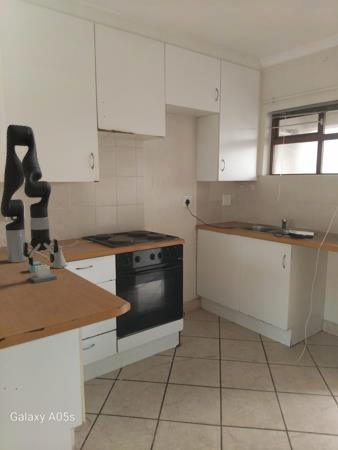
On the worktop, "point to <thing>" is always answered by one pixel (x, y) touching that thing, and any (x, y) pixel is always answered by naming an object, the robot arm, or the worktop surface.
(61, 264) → the flask
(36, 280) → the base plate
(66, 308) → the worktop surface
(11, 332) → the worktop surface
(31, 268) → the teal brick
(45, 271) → the white brick
